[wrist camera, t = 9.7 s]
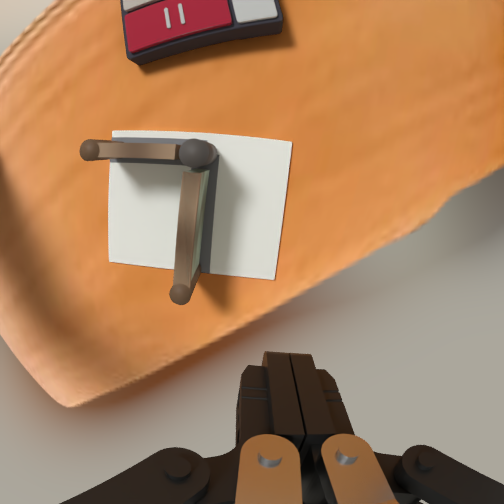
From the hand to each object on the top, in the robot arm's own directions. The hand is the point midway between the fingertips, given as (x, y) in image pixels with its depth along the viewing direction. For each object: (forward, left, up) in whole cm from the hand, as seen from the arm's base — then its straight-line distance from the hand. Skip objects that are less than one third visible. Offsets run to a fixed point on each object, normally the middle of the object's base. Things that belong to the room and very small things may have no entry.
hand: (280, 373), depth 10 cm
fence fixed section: (-10, +7, -22) cm, 25 cm away
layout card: (-7, +2, -22) cm, 24 cm away
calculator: (-9, +23, -23) cm, 34 cm away
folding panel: (-6, 0, -22) cm, 22 cm away
